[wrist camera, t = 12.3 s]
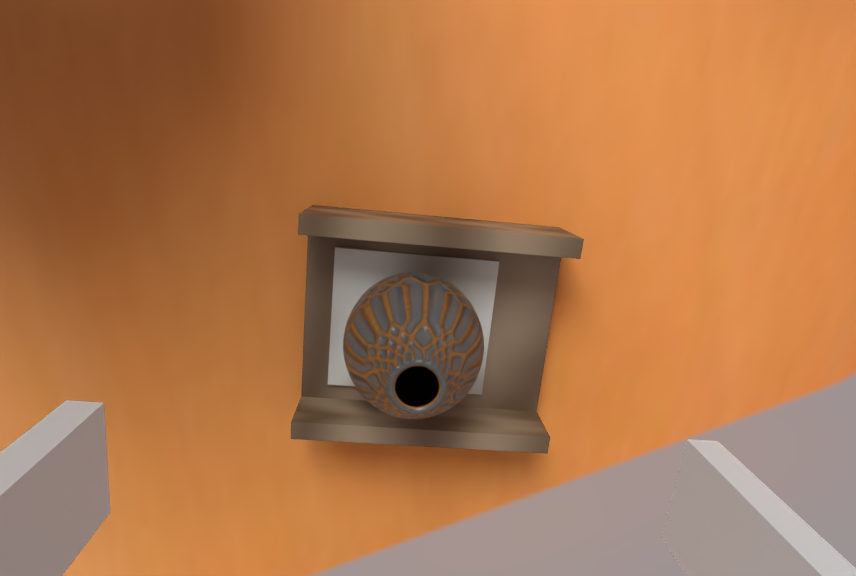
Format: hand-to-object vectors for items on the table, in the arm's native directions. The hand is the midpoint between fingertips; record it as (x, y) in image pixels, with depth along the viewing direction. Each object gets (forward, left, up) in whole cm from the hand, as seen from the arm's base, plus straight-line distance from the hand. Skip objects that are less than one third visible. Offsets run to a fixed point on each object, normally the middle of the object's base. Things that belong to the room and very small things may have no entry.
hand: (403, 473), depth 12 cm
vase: (+1, -2, -18) cm, 18 cm away
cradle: (+2, -2, -19) cm, 19 cm away
